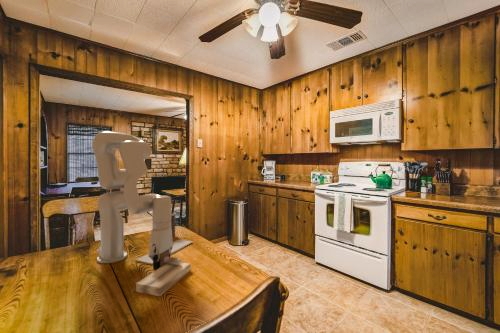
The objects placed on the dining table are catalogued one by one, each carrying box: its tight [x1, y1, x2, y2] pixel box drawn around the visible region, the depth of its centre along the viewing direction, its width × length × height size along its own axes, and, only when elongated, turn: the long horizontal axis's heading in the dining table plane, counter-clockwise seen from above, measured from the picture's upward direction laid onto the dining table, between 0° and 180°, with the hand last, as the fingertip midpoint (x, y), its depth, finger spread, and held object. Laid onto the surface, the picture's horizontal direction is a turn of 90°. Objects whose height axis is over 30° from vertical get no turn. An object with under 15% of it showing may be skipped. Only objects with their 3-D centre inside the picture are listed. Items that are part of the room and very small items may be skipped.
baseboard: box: [134, 236, 194, 266], centre depth 122 cm, size 31×3×12 cm
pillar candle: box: [171, 212, 176, 238], centre depth 145 cm, size 10×10×15 cm
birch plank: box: [135, 261, 191, 297], centre depth 93 cm, size 10×20×3 cm, turn 163°
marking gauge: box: [153, 250, 182, 272], centre depth 100 cm, size 10×6×8 cm, turn 73°
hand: (162, 266), depth 101 cm, fingers closed on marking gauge, 6 cm apart
